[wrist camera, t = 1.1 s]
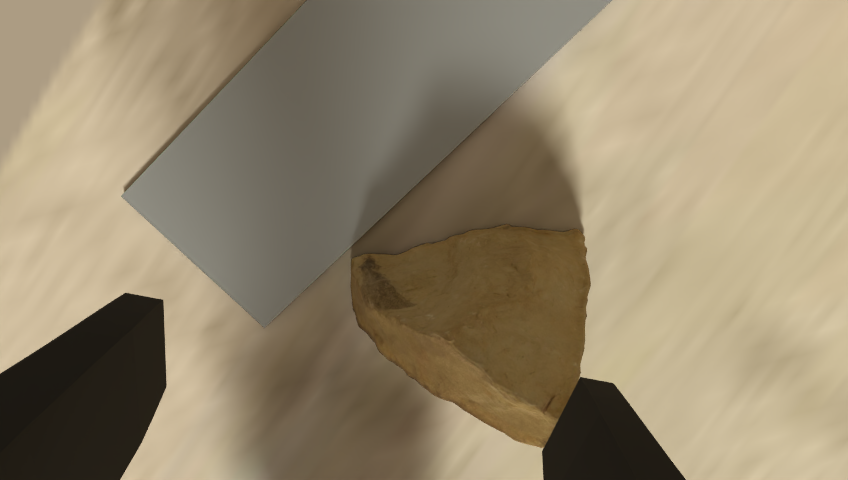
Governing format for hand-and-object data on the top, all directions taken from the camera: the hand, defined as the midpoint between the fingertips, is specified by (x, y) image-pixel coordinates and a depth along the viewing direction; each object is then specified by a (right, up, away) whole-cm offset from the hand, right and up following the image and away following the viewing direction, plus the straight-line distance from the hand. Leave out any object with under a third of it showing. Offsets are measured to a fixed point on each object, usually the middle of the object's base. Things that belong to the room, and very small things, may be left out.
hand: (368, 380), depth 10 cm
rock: (+3, +1, +18) cm, 18 cm away
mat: (-1, +9, +15) cm, 18 cm away
